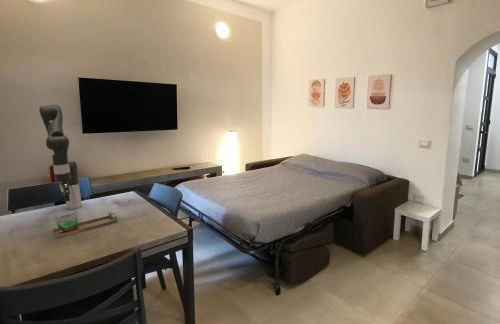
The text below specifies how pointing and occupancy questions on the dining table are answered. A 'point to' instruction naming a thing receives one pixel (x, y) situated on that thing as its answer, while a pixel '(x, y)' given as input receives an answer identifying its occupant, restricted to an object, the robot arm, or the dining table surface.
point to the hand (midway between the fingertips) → (66, 199)
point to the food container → (67, 222)
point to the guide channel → (111, 216)
